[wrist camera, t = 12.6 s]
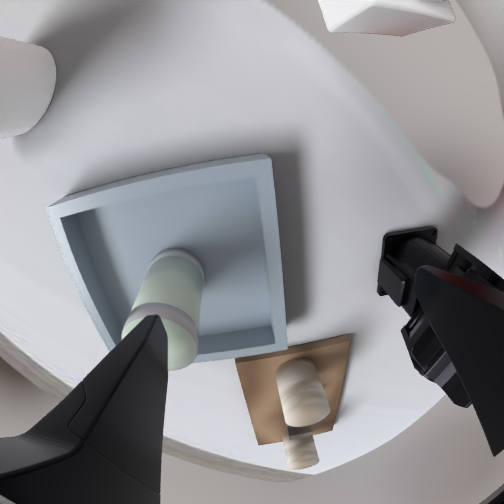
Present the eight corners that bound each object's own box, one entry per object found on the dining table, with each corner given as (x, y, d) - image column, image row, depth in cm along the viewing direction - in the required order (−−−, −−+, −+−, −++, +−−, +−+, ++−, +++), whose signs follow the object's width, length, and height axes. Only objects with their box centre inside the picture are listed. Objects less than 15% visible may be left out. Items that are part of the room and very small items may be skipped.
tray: (264, 153, 19) (271, 158, 16) (281, 327, 26) (287, 349, 23) (65, 196, 18) (46, 208, 16) (125, 346, 26) (119, 367, 23)
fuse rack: (347, 334, 28) (371, 383, 22) (330, 425, 38) (341, 460, 31) (234, 356, 27) (239, 412, 21) (258, 440, 37) (263, 476, 31)
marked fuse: (198, 244, 21) (186, 312, 14) (209, 293, 23) (205, 368, 16) (143, 252, 21) (109, 318, 14) (158, 299, 23) (137, 371, 16)
